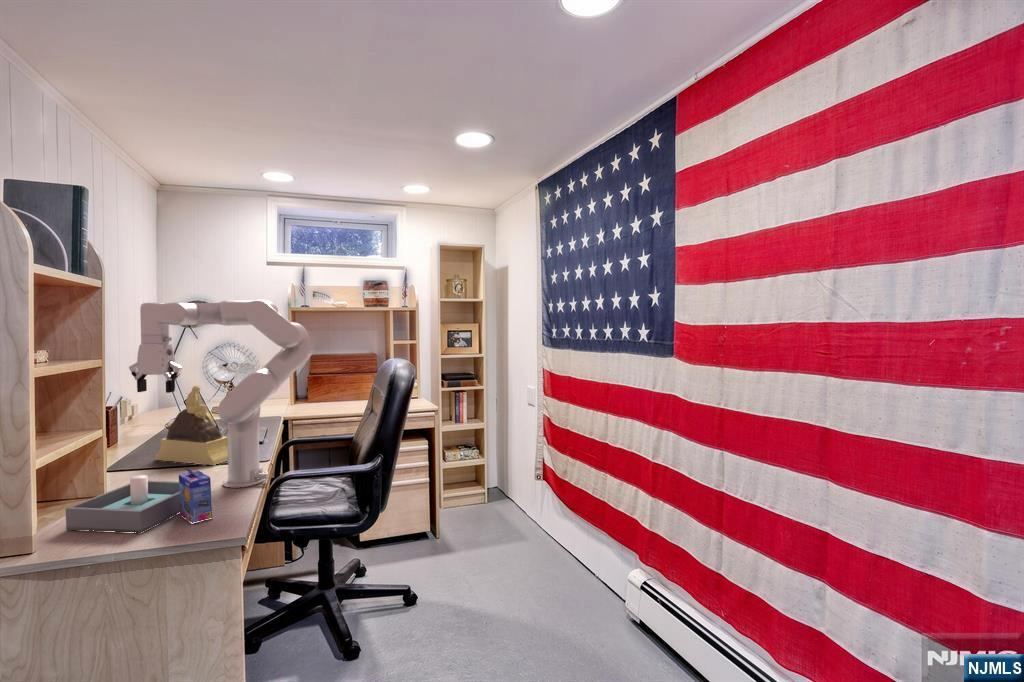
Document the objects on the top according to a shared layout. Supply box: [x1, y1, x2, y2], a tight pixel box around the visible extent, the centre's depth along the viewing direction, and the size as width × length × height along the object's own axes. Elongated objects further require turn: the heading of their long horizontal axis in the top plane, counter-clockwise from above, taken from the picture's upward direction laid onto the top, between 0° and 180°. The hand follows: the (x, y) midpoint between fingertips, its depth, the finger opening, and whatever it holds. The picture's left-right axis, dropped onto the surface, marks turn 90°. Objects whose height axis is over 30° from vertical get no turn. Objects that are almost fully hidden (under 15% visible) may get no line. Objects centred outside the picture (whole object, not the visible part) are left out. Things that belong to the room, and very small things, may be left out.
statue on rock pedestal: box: [154, 384, 228, 466], centre depth 197 cm, size 28×13×30 cm, turn 76°
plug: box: [129, 474, 149, 505], centre depth 141 cm, size 4×4×10 cm
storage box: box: [65, 480, 180, 533], centre depth 141 cm, size 21×23×6 cm
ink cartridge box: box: [178, 467, 214, 523], centre depth 140 cm, size 10×6×14 cm, turn 51°
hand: (156, 391), depth 163 cm, fingers open, 9 cm apart
